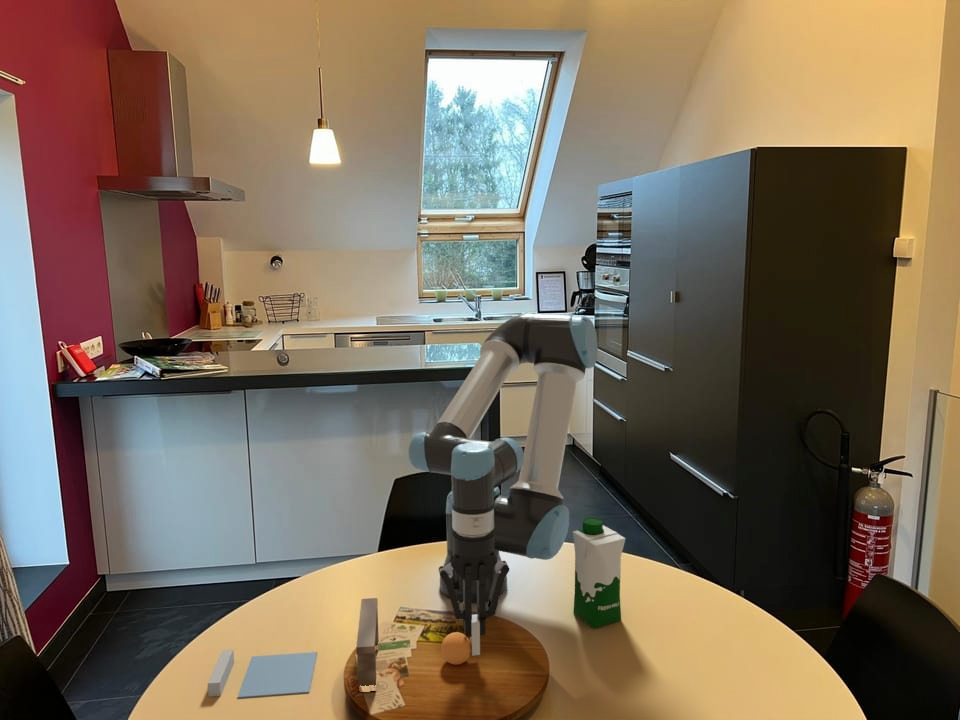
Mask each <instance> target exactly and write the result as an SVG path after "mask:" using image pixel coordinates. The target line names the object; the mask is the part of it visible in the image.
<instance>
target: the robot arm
mask: <svg viewBox="0 0 960 720" xmlns="http://www.w3.org/2000/svg"><path fill="white" fill-rule="evenodd" d="M595 327H596V326H595V325H594V322H593V321H592V320H591V318H589V317H587V316H584V315H577V314H572V313H570V314H560V313H559V314H558V313H557V314H556V313H551V314H550V313H536V312H528V313H527V312H526V313H521V314H518V315H516V316H513V317H512V318H509V319H508V320H506V321H505V322H503V323H502V324H500V325H499V326H498V327H496V328H495V329H494V330H493V331H492V332H491V333H490V334H489V336H487V338H486V339H485V340H484V342H483V343H482V345H481V346H480V350H479V353H480V356H479V358H478V359H477V361H476V362H475V364H474V366H473V367H472V368H471V371H470V372H469V373H468V375H467V377H466V378H465V380H464V381H463V383H462V384H461V386H460V387H459V389H458V390H457V392H456V394H455V395H454V397H453V398H452V399H451V401H450V402H449V404H448V405H447V407H446V409H445V410H444V412H443V414H442V415H441V416H440V418H439V420H438V421H437V423H436V425H435V426H434V427H433V429H432V430H431V431H430V432H429V431H425V432H423V431H421V432H418V433H416V434H414V435H413V437H412V438H411V440H410V442H409V444H408V445H409V446H408V455H407V456H408V460H409V461H410V464H411V466H412V467H413V468H414V469H415V470H416V469H417V470H421V471H424V472H428V473H431V474H432V473H436V474H442V475H448V476H451V491H450V492H449V493H448V495H447V498H446V503H445V505H446V507H445V514H446V515H445V517H446V519H445V520H446V522H445V523H446V550H447V551H446V557H445V560H444V563H443V565H440V566H439V567H438V573H439V589H440V592H441V593H442V595H444V596H445V597H447V598H448V599H450V603H451V606H452V610H453V613H454V617H455V619H456V620H458V621H459V620H462V621H463V632H464V635H465V636H466V637H467V638H469V641H470V644H471V653H470V654H471V655H472V656H473V657H474V656H481V637H482V636H485V635H486V622H487V618H489V617H494V616H496V613H497V609H498V603H499V600H500V597H502V596H503V594H505V593H506V591H507V588H508V576H507V575H508V573H509V572H510V567H509V564H508V563H507V561H506V560H502V558H501V555H500V552H502V553H507V554H511V555H512V554H513V555H517V556H520V557H526V558H528V559H531V560H532V559H538V560H545V561H549V560H551V559H553V558H554V557H556V556H557V555H558V553H559V551H561V549H562V547H563V545H564V543H565V539H566V537H567V535H568V530H569V527H570V511H569V508H568V507H566V506H565V505H564V503H563V502H564V496H563V495H562V493H561V492H560V490H559V484H560V479H561V472H562V468H563V462H564V457H565V456H564V455H565V452H566V451H565V450H566V444H567V439H568V432H569V427H570V422H571V414H572V411H573V410H572V409H573V405H574V404H573V403H574V399H575V392H576V387H577V383H578V382H579V381H581V380H583V379H584V378H585V375H586V370H587V369H592V368H594V367H595V365H596V363H597V361H598V360H597V359H598V350H599V349H598V348H599V347H598V336H597V331H596V328H595ZM521 364H522V365H523V364H533V370H534V372H535V373H536V375H537V376H538V377H537V382H536V387H535V392H534V399H533V402H532V409H531V414H530V419H529V424H528V425H529V426H528V430H527V435H526V440H525V446H524V451H523V447H522V446H521V445H520V443H518V442H517V441H516V440H515V439H513V438H511V437H501V438H496V439H494V440H493V441H489V440H482V439H475V438H474V439H473V438H472V436H473V435H474V434H475V432H476V430H477V429H478V427H479V425H480V423H481V422H482V420H483V418H484V417H485V415H486V413H487V411H488V410H489V408H490V406H491V405H492V403H493V401H494V400H495V398H496V396H497V394H498V393H499V391H500V390H501V388H502V386H503V384H504V383H505V381H506V379H508V376H509V375H510V374H512V373H515V372H516V371H517V369H518V368H519V366H520V365H521ZM519 471H520V473H519V478H518V480H517V482H515V483H514V484H513V485H511V486H510V488H509V491H508V493H509V494H508V496H507V495H501V490H500V488H499V486H500V485H502V484H503V483H505V482H507V481H509V480H510V479H512V478H514V476H516V474H517V473H518V472H519ZM459 602H460V603H463V605H462V606H463V607H462V608H461V607H460V604H459ZM486 603H487V604H486ZM472 604H476V611H477V614H476V613H475V614H473V606H472Z"/></svg>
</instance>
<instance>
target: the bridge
mask: <svg viewBox="0 0 960 720" xmlns="http://www.w3.org/2000/svg"><path fill="white" fill-rule="evenodd" d="M378 600H379V599H378V597H373V598H371V597H370V598H361V601H360V609H359V619H358V620H359V622H358V629H357V636H356V637H357V639H356V645H355V647H356V659H357V661H356V662H357V683H358V686H360V685H361V686H365V685H366V686H369V685H374V686H375V685H376V679H377V656H376V652H377V651H375V646H377V645H378V642H379V641H380V640H379V616H378V615H379V613H378V604H379V602H378ZM379 643H380V642H379Z"/></svg>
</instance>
